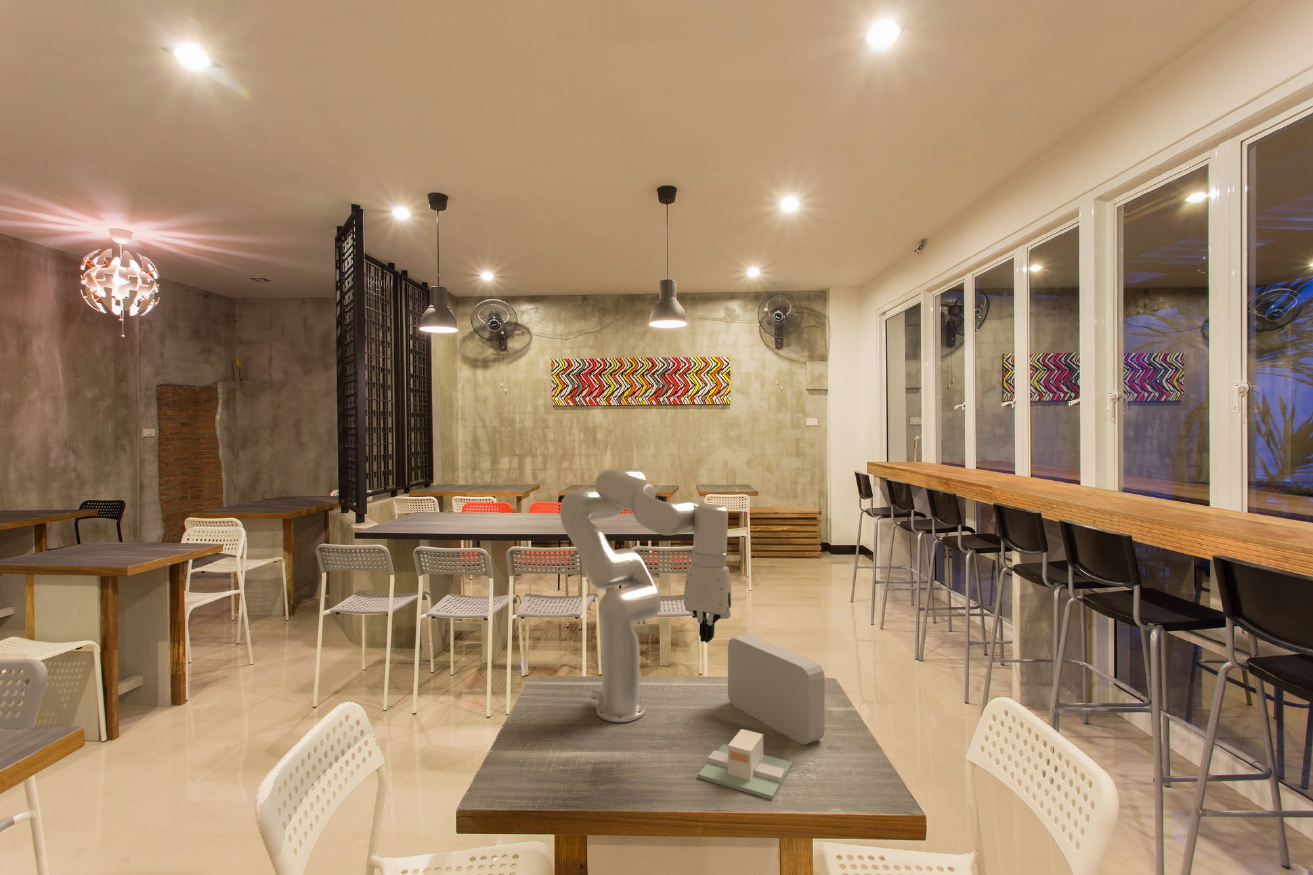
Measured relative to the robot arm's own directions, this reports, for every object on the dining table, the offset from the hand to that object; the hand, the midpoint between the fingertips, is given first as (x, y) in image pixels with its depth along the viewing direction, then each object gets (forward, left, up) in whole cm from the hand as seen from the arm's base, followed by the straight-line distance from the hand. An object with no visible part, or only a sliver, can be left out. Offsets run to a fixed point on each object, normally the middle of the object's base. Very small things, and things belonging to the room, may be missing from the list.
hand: (706, 640), depth 136 cm
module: (+11, -4, -24) cm, 27 cm away
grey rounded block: (+9, +21, -25) cm, 34 cm away
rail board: (+11, -4, -25) cm, 28 cm away
